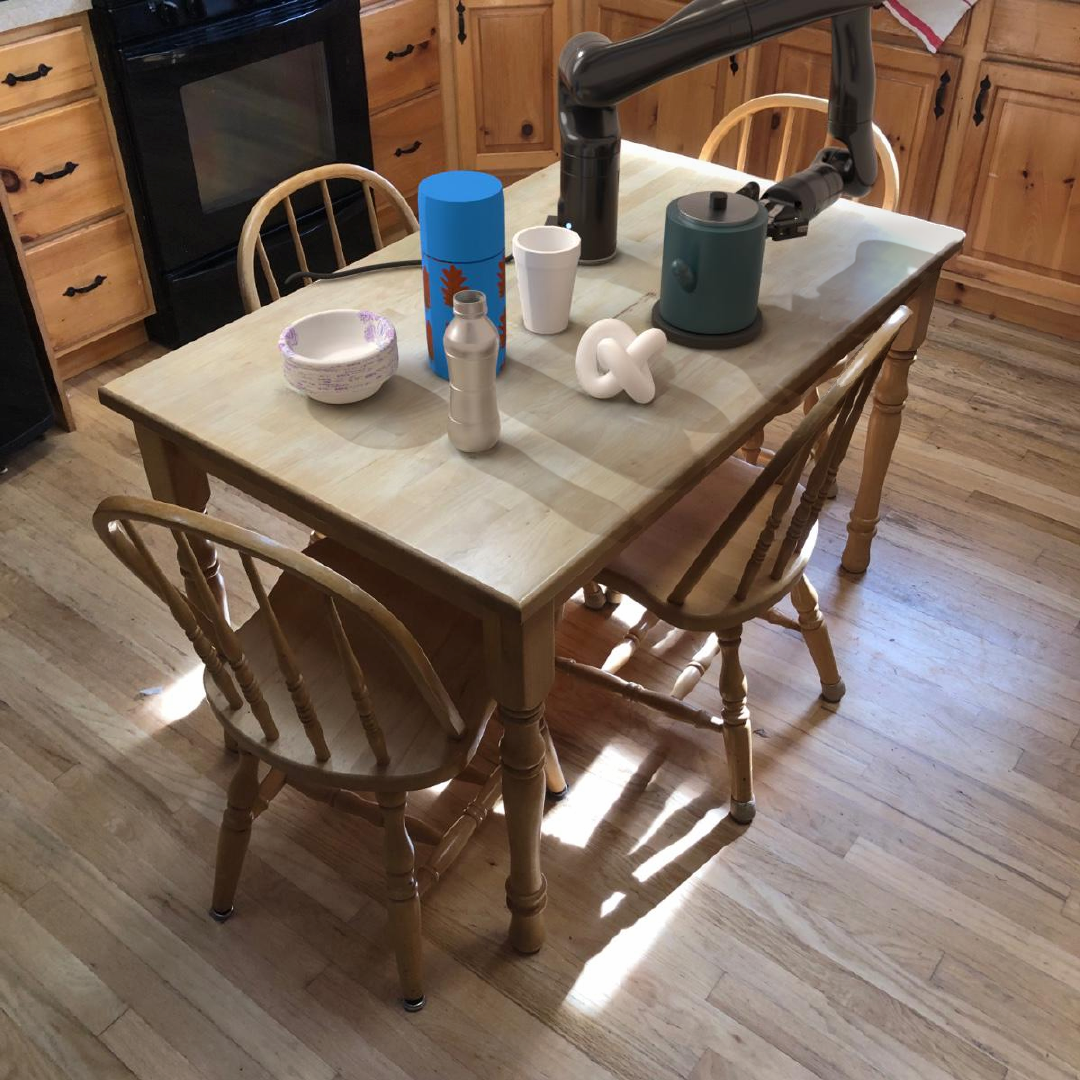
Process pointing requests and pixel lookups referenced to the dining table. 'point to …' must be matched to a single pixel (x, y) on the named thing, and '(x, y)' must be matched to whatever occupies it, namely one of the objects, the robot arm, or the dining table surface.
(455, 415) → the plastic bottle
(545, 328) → the foam cup
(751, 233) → the kettle
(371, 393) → the paper bowls
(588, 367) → the white knot sculpture
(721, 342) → the kettle base
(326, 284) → the dining table surface
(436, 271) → the thermos
